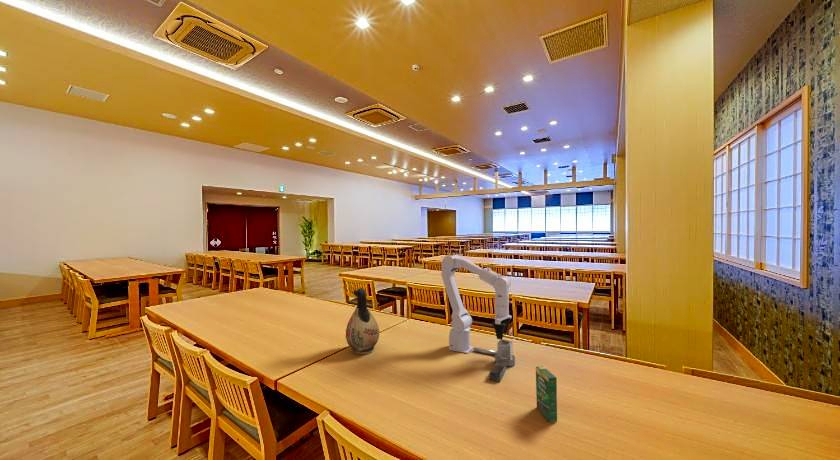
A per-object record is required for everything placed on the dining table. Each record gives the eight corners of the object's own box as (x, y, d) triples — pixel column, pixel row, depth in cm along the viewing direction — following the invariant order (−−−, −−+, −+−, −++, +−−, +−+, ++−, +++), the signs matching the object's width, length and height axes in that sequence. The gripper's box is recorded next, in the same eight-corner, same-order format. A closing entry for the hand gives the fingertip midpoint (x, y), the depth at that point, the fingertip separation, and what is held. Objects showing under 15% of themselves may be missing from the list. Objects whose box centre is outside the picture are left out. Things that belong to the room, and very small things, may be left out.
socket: (497, 356, 127) (497, 343, 127) (500, 351, 132) (500, 339, 132) (510, 359, 125) (510, 345, 125) (512, 354, 130) (512, 341, 129)
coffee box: (535, 406, 98) (535, 365, 98) (543, 405, 98) (543, 365, 98) (548, 422, 90) (548, 378, 90) (557, 422, 90) (557, 377, 90)
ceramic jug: (342, 347, 147) (341, 285, 146) (374, 342, 153) (373, 282, 153) (350, 362, 131) (349, 292, 131) (385, 355, 138) (384, 288, 137)
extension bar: (472, 351, 141) (472, 347, 140) (473, 350, 142) (473, 346, 142) (500, 357, 135) (500, 353, 134) (501, 355, 136) (501, 351, 136)
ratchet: (484, 378, 116) (484, 361, 116) (497, 357, 134) (497, 343, 134) (505, 383, 112) (505, 366, 112) (516, 361, 130) (516, 346, 130)
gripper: (507, 310, 124) (507, 343, 125) (515, 302, 137) (515, 332, 137) (490, 307, 128) (490, 340, 128) (499, 300, 140) (499, 329, 141)
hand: (501, 336), depth 133 cm, fingers open, 7 cm apart
